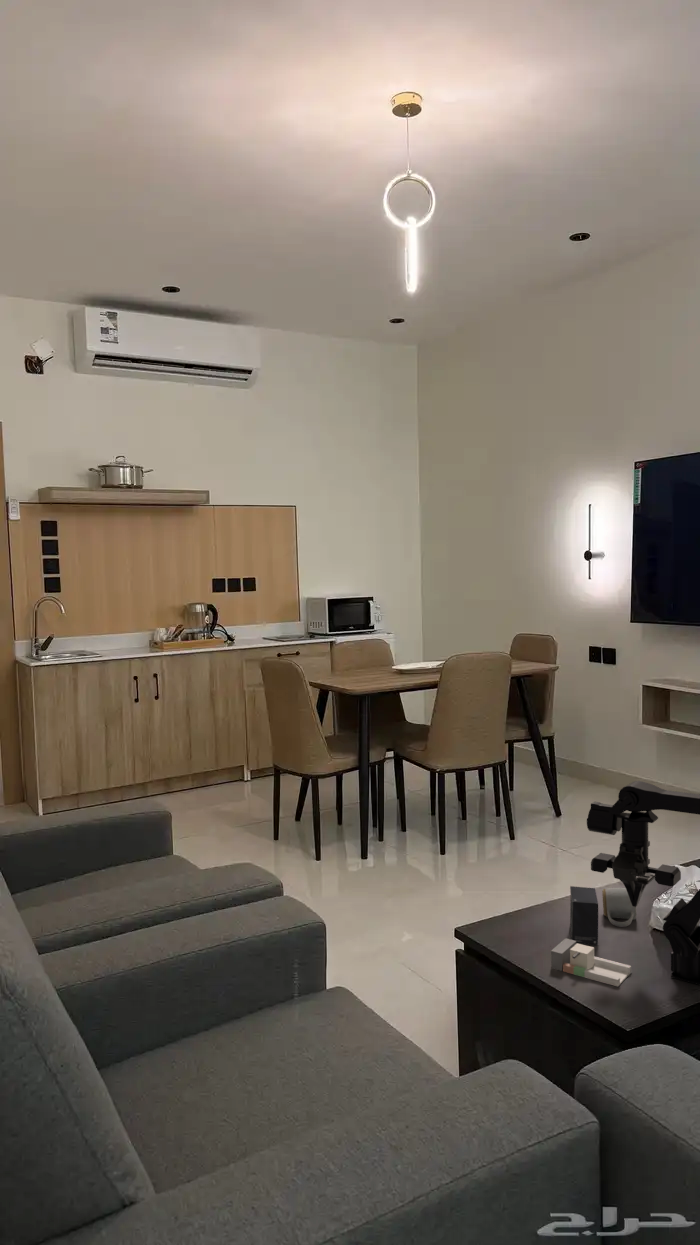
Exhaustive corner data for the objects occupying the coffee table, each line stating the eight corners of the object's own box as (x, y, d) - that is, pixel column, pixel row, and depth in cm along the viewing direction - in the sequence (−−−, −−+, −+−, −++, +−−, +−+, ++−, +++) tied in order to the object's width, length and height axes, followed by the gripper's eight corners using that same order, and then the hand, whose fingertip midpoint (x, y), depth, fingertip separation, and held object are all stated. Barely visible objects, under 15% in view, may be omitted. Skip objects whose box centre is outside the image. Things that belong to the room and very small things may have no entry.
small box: (599, 946, 207) (599, 902, 206) (571, 944, 208) (571, 901, 207) (596, 928, 217) (596, 886, 216) (569, 926, 218) (569, 885, 218)
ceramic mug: (601, 910, 228) (601, 881, 227) (634, 912, 226) (634, 883, 226) (604, 927, 218) (604, 897, 217) (638, 929, 216) (638, 899, 215)
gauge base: (631, 972, 193) (631, 954, 193) (618, 986, 187) (618, 968, 186) (565, 955, 202) (565, 938, 202) (551, 968, 196) (551, 950, 196)
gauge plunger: (594, 964, 196) (594, 947, 196) (582, 976, 191) (582, 958, 190) (577, 960, 198) (577, 943, 198) (565, 971, 193) (564, 954, 193)
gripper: (581, 840, 195) (581, 908, 196) (665, 855, 184) (665, 927, 185) (599, 828, 204) (600, 893, 205) (681, 841, 193) (681, 910, 194)
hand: (635, 906), depth 197 cm, fingers closed
